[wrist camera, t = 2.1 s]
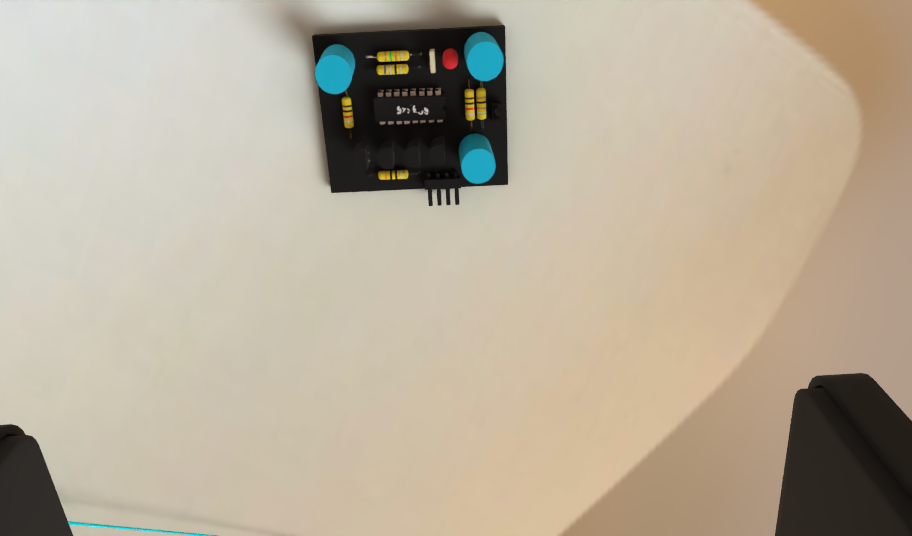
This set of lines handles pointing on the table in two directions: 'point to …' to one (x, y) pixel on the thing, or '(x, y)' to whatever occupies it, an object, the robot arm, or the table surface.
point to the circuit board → (414, 109)
